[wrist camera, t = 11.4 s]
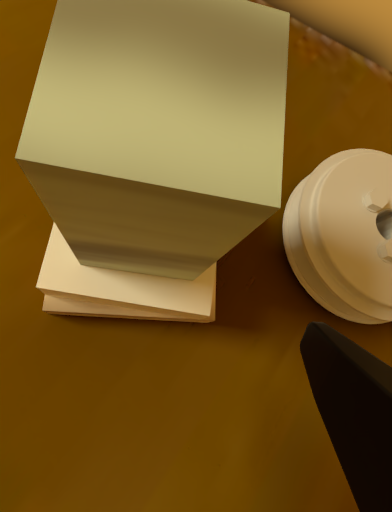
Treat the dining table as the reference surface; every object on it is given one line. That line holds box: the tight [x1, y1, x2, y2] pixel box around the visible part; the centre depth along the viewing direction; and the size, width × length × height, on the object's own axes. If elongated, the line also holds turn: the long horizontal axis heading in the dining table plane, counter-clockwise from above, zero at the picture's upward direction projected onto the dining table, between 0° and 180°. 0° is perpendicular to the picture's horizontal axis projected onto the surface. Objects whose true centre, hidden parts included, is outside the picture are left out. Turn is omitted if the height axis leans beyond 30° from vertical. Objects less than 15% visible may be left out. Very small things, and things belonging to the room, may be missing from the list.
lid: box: [282, 149, 392, 324], centre depth 25 cm, size 13×13×5 cm
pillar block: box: [15, 0, 290, 281], centre depth 14 cm, size 6×6×11 cm
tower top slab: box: [36, 222, 217, 320], centre depth 20 cm, size 9×9×2 cm
